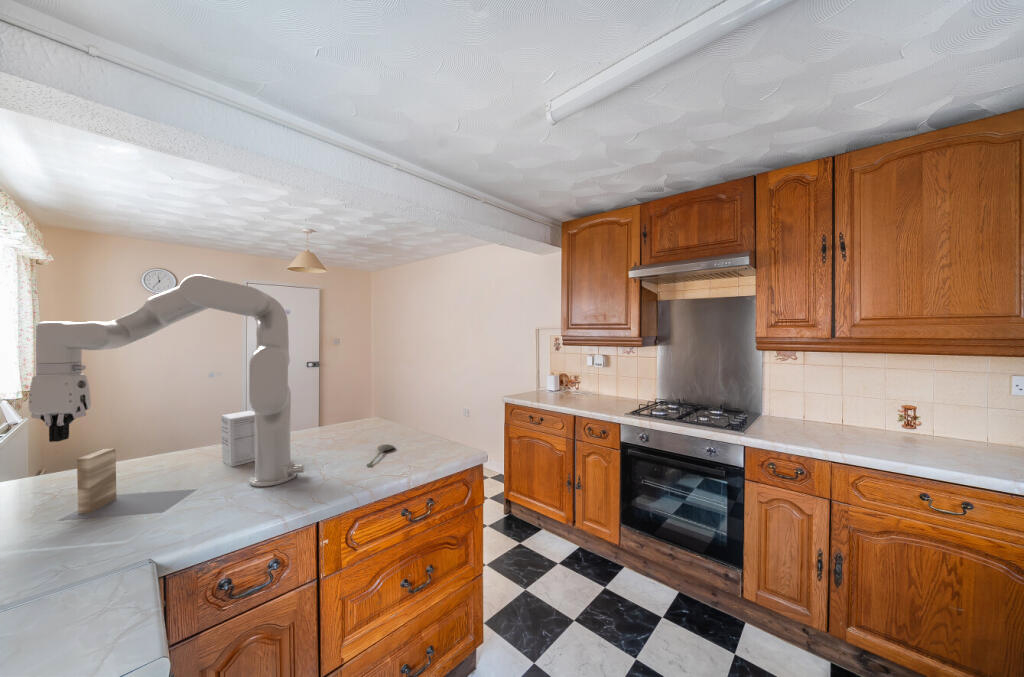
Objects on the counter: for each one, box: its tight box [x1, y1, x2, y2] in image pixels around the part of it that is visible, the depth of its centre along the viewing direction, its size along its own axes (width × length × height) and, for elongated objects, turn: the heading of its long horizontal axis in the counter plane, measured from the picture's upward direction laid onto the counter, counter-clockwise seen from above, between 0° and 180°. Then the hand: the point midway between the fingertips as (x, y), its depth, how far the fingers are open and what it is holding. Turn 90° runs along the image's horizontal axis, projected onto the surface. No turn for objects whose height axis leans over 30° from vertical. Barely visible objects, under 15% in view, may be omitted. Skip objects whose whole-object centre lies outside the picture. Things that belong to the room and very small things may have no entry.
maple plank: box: [76, 447, 117, 514], centre depth 99 cm, size 3×8×14 cm, turn 12°
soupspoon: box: [366, 443, 395, 468], centre depth 140 cm, size 22×3×7 cm
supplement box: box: [220, 410, 255, 468], centre depth 134 cm, size 10×9×17 cm
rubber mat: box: [57, 488, 198, 521], centre depth 100 cm, size 22×14×1 cm, turn 101°
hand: (59, 440), depth 97 cm, fingers closed
